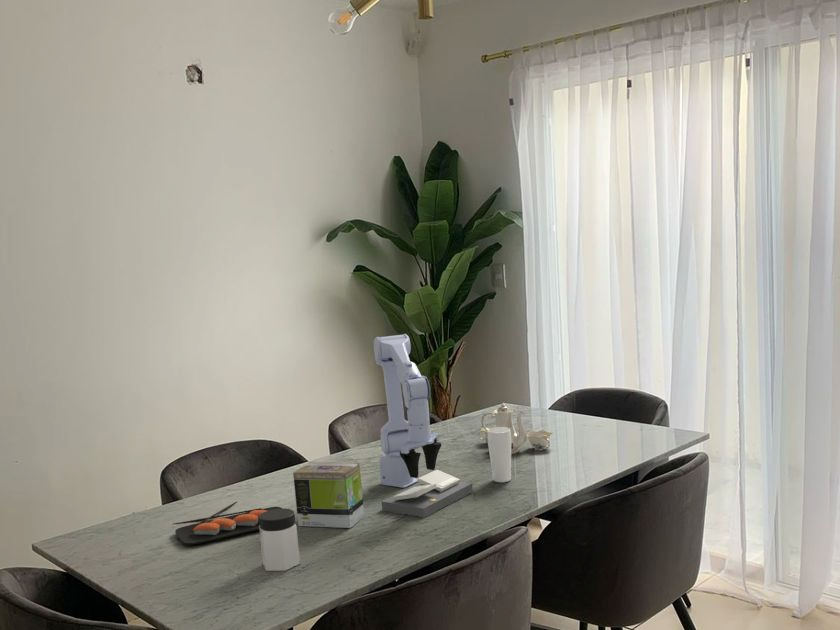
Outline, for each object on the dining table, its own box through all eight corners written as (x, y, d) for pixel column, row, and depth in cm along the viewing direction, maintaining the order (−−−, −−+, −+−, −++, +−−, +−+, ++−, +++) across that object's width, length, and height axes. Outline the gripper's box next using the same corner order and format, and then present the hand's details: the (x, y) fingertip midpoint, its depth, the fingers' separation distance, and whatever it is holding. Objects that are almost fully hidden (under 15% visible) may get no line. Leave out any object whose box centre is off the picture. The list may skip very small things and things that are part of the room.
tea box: (365, 516, 229) (360, 461, 227) (350, 529, 219) (345, 473, 218) (314, 513, 234) (309, 460, 232) (296, 527, 224) (291, 471, 223)
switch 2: (417, 481, 240) (418, 477, 240) (436, 472, 247) (437, 469, 247) (441, 491, 235) (441, 488, 235) (459, 482, 243) (460, 478, 242)
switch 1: (394, 500, 231) (393, 496, 231) (414, 490, 238) (413, 486, 238) (417, 497, 226) (415, 492, 226) (437, 487, 233) (435, 483, 234)
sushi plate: (185, 552, 213) (183, 537, 213) (161, 519, 240) (160, 506, 240) (297, 526, 226) (295, 512, 226) (263, 497, 253) (261, 485, 253)
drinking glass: (512, 483, 247) (509, 432, 245) (489, 484, 248) (485, 432, 247) (514, 476, 253) (511, 426, 252) (491, 476, 255) (488, 427, 253)
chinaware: (560, 451, 283) (559, 400, 283) (538, 459, 269) (537, 406, 269) (484, 444, 298) (484, 396, 298) (460, 452, 284) (459, 401, 284)
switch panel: (382, 510, 232) (381, 498, 232) (432, 485, 250) (431, 475, 250) (424, 517, 224) (423, 505, 223) (472, 492, 242) (472, 480, 242)
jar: (284, 554, 206) (279, 505, 204) (307, 561, 200) (303, 511, 199) (254, 567, 199) (249, 517, 198) (277, 575, 194) (272, 523, 192)
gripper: (414, 430, 221) (418, 482, 222) (446, 418, 232) (450, 467, 234) (392, 428, 225) (396, 479, 226) (425, 416, 237) (429, 464, 238)
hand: (422, 473), depth 230 cm, fingers open, 7 cm apart
